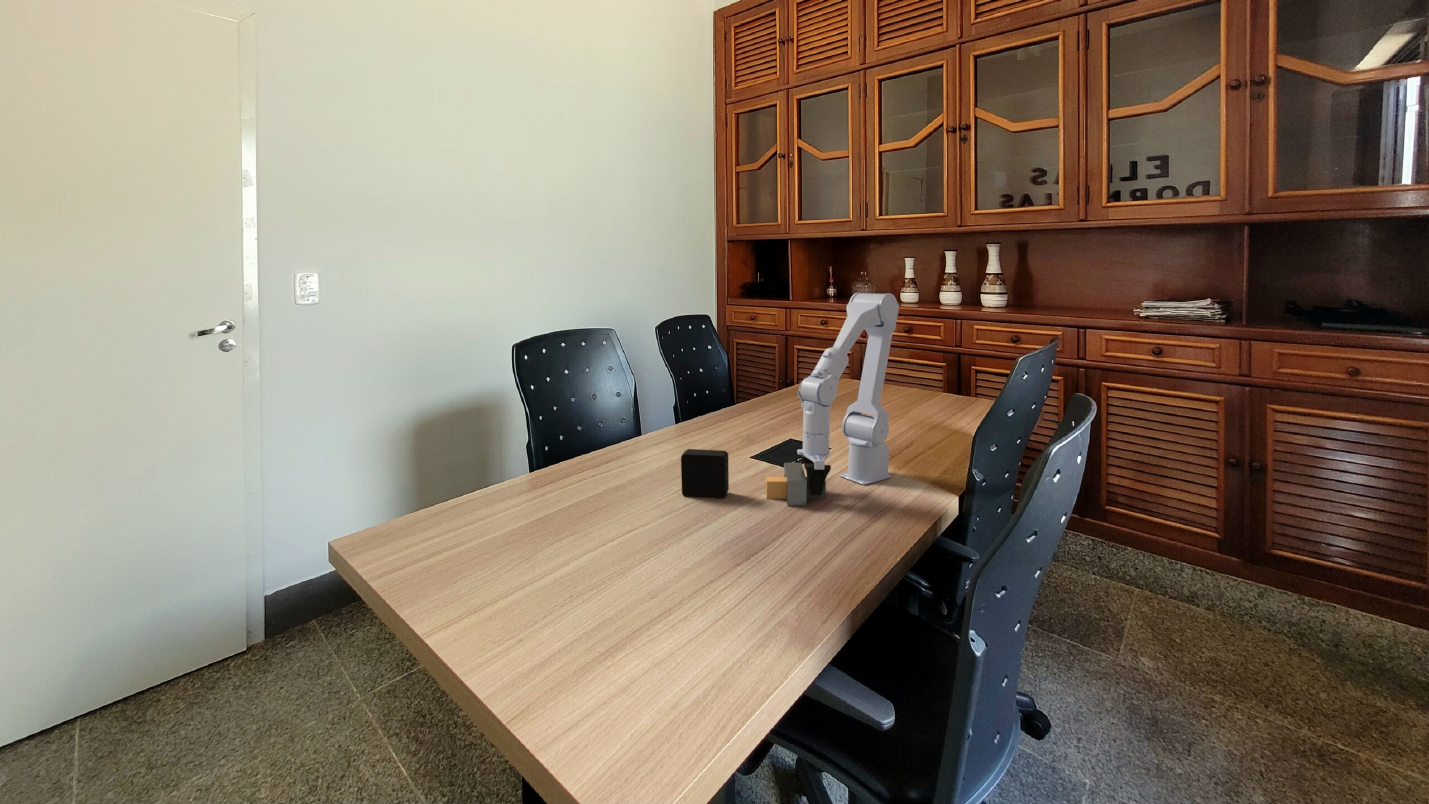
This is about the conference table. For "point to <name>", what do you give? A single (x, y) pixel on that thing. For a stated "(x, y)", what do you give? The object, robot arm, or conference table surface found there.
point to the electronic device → (704, 473)
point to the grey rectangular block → (795, 484)
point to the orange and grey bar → (778, 489)
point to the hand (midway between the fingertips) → (814, 490)
